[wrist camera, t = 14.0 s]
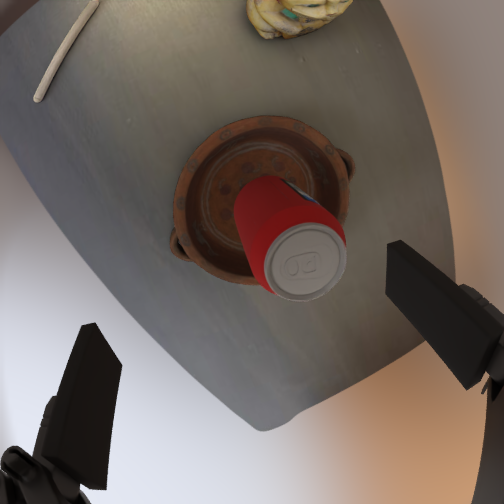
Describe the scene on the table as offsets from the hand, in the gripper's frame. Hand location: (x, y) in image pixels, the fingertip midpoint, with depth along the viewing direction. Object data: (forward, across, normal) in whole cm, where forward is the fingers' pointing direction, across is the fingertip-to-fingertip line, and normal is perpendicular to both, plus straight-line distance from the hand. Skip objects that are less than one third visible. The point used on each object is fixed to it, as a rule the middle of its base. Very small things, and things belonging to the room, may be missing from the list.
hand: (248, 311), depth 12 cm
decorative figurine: (+23, +11, +18) cm, 31 cm away
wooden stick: (+23, -12, +20) cm, 33 cm away
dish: (+23, +4, -2) cm, 23 cm away
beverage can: (+18, +4, -2) cm, 18 cm away
